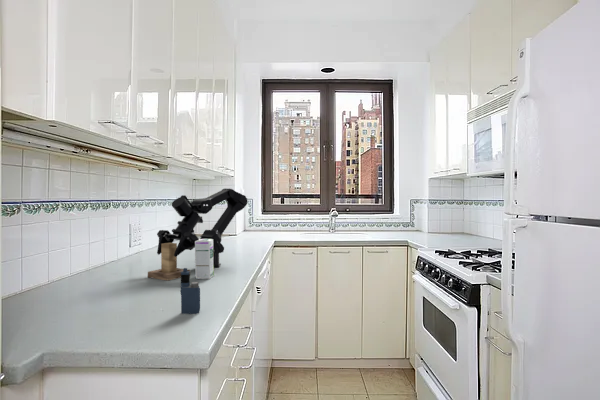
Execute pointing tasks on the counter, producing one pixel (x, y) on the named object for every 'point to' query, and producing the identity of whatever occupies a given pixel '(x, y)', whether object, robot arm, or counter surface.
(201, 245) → the syrup box
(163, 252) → the peg
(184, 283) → the vaping device
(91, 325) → the counter surface
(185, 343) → the counter surface
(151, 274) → the socket
